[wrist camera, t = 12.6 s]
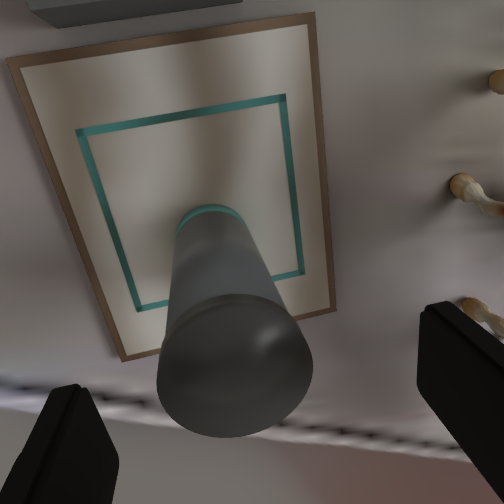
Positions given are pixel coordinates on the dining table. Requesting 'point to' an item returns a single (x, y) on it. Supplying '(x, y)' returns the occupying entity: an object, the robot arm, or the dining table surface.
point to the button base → (110, 9)
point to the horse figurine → (473, 192)
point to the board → (186, 158)
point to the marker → (227, 333)
